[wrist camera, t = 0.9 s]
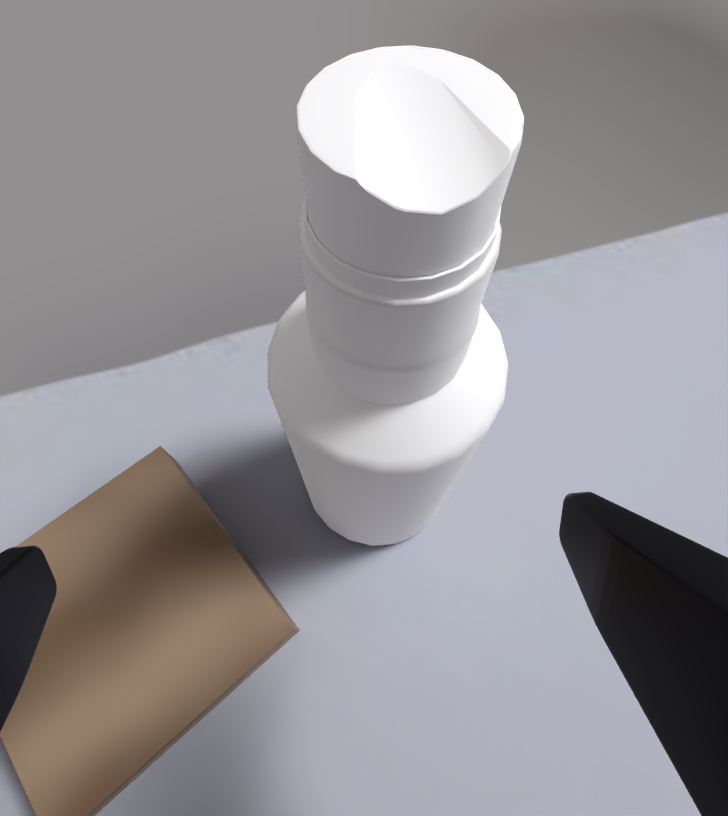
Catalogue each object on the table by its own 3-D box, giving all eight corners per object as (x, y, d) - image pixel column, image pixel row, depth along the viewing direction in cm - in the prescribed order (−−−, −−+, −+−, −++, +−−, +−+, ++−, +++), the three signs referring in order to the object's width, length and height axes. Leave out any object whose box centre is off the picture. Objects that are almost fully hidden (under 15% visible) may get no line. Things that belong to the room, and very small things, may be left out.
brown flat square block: (299, 630, 20) (293, 629, 19) (82, 826, 18) (50, 847, 16) (175, 460, 24) (160, 446, 22) (-25, 603, 21) (-62, 600, 19)
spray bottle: (422, 399, 25) (532, -33, 9) (466, 526, 22) (745, 234, 6) (294, 428, 24) (159, 16, 8) (323, 564, 22) (203, 347, 5)
